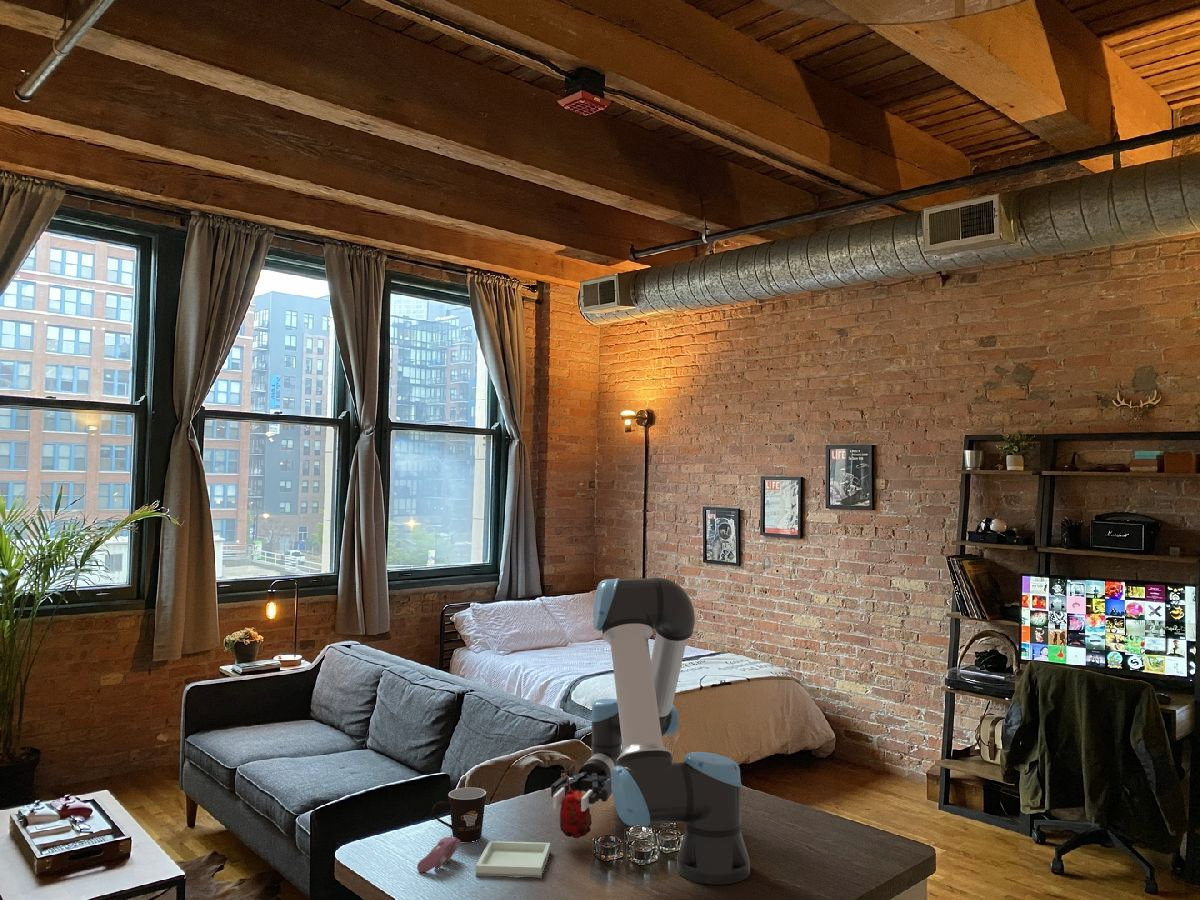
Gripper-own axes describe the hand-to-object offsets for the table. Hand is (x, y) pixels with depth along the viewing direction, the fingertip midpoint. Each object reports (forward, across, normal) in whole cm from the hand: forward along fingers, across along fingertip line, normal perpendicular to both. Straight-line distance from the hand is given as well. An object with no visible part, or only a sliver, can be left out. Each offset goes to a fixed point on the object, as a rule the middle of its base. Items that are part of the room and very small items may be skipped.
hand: (568, 803), depth 195 cm
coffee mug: (-4, +27, -11) cm, 30 cm away
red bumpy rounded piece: (-5, 0, -8) cm, 10 cm away
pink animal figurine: (+12, +25, -11) cm, 30 cm away
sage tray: (+7, +10, -11) cm, 17 cm away
